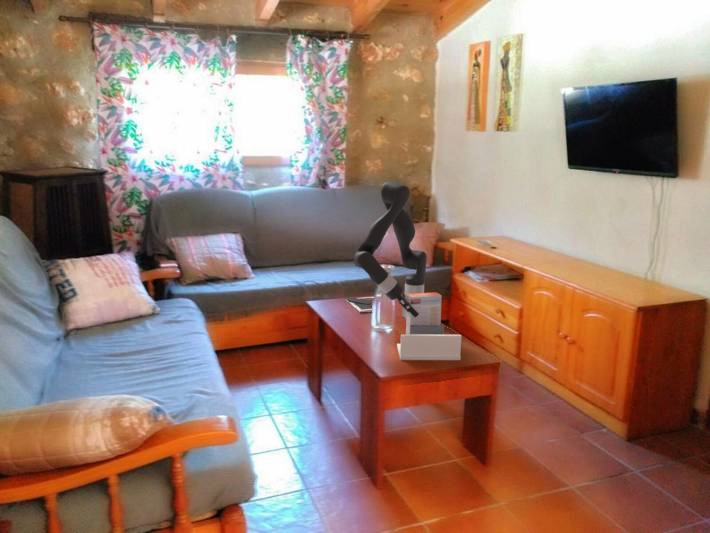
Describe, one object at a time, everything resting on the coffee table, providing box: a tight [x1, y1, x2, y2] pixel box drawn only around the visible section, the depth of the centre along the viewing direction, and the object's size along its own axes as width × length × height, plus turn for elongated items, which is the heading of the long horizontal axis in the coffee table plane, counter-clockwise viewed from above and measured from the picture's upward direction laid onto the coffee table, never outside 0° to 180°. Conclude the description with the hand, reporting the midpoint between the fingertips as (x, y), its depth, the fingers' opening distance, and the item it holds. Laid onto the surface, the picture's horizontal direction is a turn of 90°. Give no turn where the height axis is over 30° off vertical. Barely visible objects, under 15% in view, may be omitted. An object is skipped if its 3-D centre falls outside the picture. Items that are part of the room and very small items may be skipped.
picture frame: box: [344, 296, 375, 312], centre depth 301 cm, size 16×3×21 cm
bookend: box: [410, 324, 445, 335], centre depth 244 cm, size 2×14×8 cm, turn 92°
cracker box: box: [405, 291, 443, 334], centre depth 252 cm, size 14×6×21 cm, turn 103°
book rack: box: [396, 333, 462, 361], centre depth 239 cm, size 14×24×10 cm, turn 92°
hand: (415, 312), depth 251 cm, fingers open, 8 cm apart
